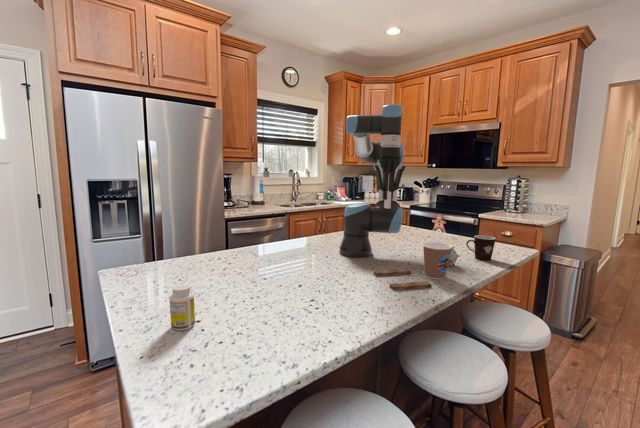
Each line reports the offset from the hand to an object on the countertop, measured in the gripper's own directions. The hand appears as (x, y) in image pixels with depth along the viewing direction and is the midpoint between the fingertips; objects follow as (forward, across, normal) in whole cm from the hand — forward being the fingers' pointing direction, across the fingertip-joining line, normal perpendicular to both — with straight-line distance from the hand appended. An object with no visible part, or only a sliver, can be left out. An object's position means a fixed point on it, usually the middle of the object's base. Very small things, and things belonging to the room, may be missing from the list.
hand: (387, 207), depth 127 cm
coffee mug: (+25, +49, +4) cm, 55 cm away
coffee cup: (+25, +14, -13) cm, 31 cm away
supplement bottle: (+25, -71, -34) cm, 82 cm away
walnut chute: (+24, 0, -15) cm, 29 cm away
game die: (+25, +28, -2) cm, 37 cm away
